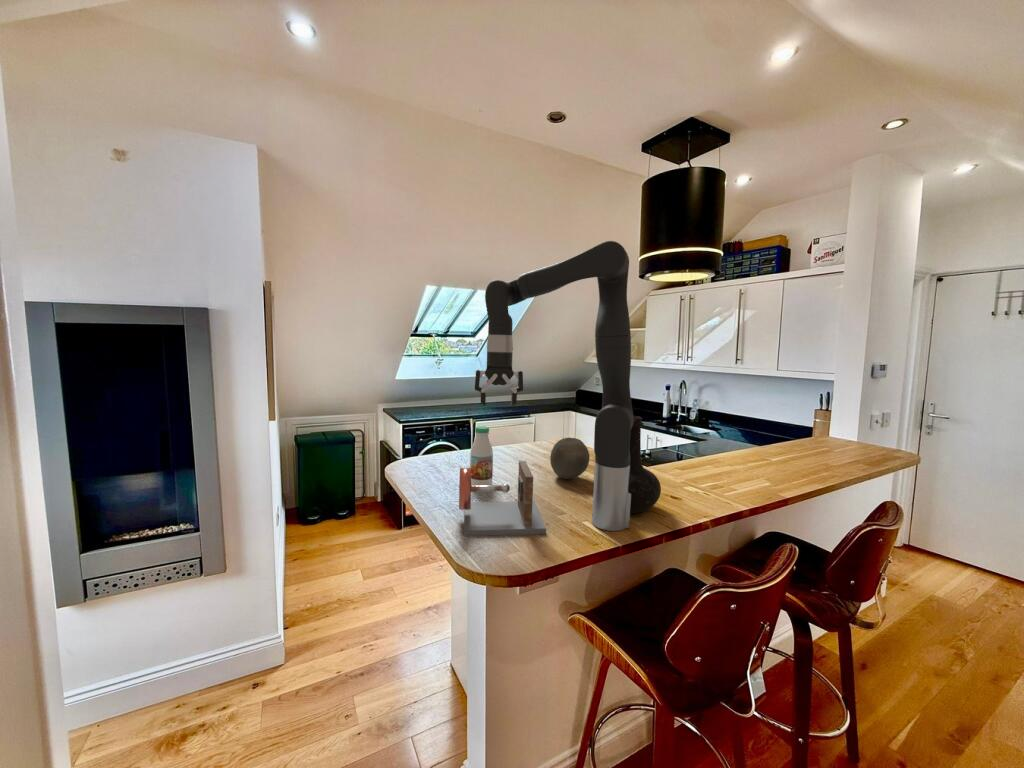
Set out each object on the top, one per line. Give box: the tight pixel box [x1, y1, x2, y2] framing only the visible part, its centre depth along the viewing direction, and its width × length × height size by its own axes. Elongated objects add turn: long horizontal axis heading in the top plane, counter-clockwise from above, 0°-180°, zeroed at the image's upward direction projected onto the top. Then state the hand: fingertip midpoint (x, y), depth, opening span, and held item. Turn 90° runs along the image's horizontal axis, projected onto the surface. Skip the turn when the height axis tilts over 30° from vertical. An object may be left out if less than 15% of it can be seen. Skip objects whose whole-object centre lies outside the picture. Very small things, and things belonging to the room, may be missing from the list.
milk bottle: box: [469, 425, 494, 486], centre depth 140 cm, size 8×8×20 cm
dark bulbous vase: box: [628, 415, 662, 514], centre depth 124 cm, size 18×18×28 cm
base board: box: [463, 500, 547, 537], centre depth 114 cm, size 21×18×2 cm
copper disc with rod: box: [458, 467, 511, 511], centre depth 113 cm, size 14×11×11 cm
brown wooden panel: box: [517, 460, 534, 525], centre depth 114 cm, size 3×14×13 cm, turn 6°
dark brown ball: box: [549, 437, 591, 480], centre depth 149 cm, size 14×14×15 cm
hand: (498, 405), depth 123 cm, fingers open, 8 cm apart
